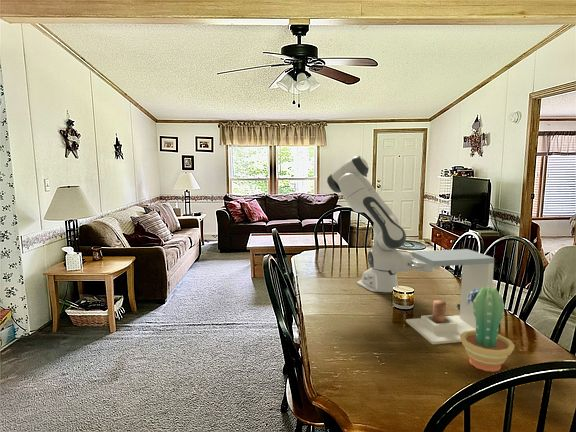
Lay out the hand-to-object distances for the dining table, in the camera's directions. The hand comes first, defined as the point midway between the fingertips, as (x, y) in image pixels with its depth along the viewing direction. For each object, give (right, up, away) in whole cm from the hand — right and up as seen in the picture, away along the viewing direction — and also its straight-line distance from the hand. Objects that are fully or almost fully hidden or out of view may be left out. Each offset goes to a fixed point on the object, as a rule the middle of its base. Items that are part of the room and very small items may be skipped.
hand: (434, 264), depth 167 cm
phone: (+13, -21, -6) cm, 25 cm away
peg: (-7, -21, -23) cm, 32 cm away
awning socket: (-4, -22, -23) cm, 32 cm away
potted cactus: (-3, -26, -48) cm, 55 cm away
